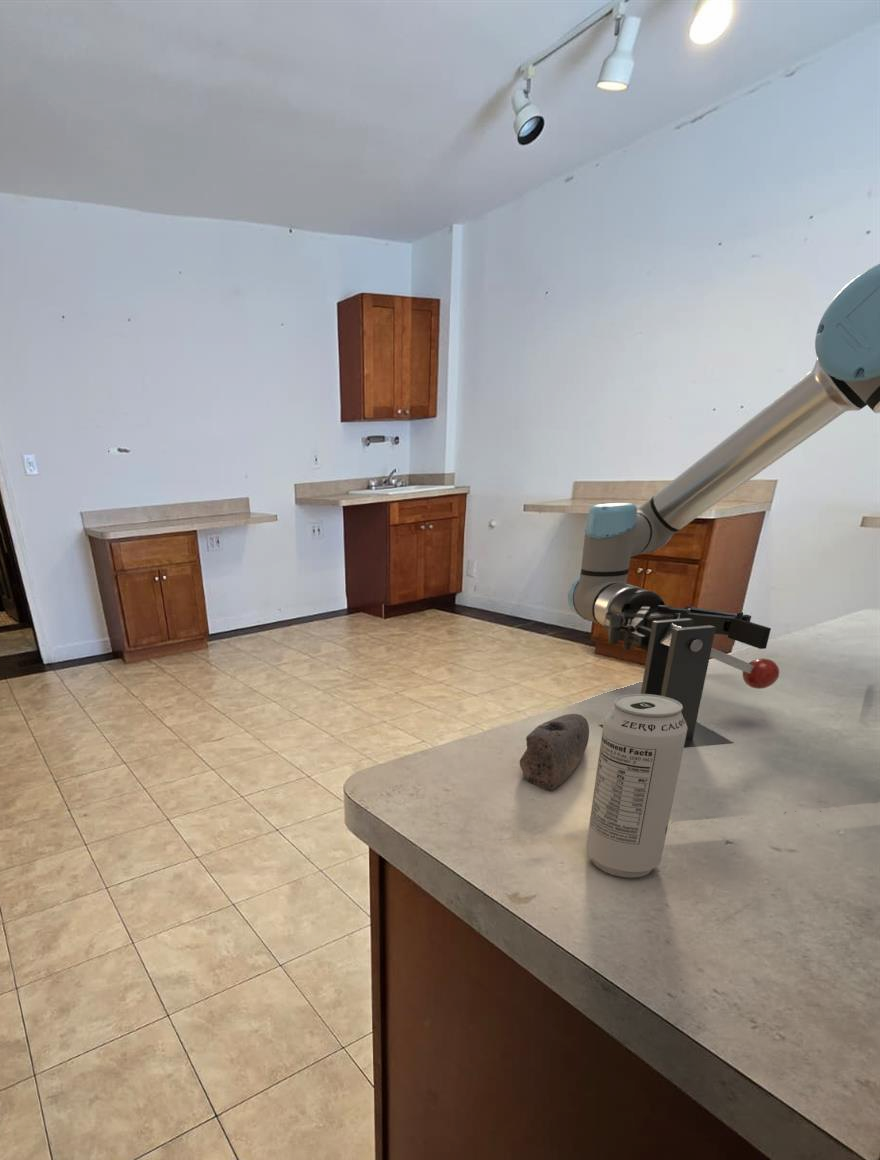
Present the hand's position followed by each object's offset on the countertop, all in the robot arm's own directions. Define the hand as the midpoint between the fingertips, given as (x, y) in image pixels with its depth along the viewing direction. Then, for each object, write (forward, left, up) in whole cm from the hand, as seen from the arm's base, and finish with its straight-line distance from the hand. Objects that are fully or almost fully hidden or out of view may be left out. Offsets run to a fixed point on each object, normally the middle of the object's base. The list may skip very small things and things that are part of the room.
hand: (715, 642), depth 84 cm
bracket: (+11, +9, -10) cm, 17 cm away
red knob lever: (+6, +9, -1) cm, 11 cm away
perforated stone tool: (+27, +15, -10) cm, 32 cm away
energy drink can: (+29, +33, -10) cm, 45 cm away
